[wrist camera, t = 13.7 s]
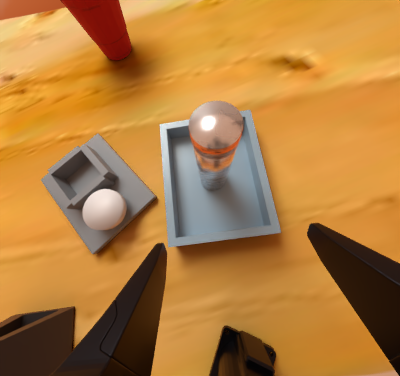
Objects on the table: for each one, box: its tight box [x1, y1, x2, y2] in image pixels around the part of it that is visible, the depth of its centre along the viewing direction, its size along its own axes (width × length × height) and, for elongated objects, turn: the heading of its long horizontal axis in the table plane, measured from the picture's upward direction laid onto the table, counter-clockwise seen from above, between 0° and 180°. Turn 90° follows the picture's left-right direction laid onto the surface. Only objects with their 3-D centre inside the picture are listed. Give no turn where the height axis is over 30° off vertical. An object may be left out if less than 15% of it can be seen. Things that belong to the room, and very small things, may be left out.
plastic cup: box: [61, 0, 131, 60], centre depth 28 cm, size 11×11×12 cm
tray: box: [160, 110, 281, 247], centre depth 23 cm, size 18×14×4 cm
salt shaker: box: [189, 101, 244, 191], centre depth 18 cm, size 4×4×13 cm
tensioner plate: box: [41, 134, 157, 254], centre depth 24 cm, size 16×12×4 cm
